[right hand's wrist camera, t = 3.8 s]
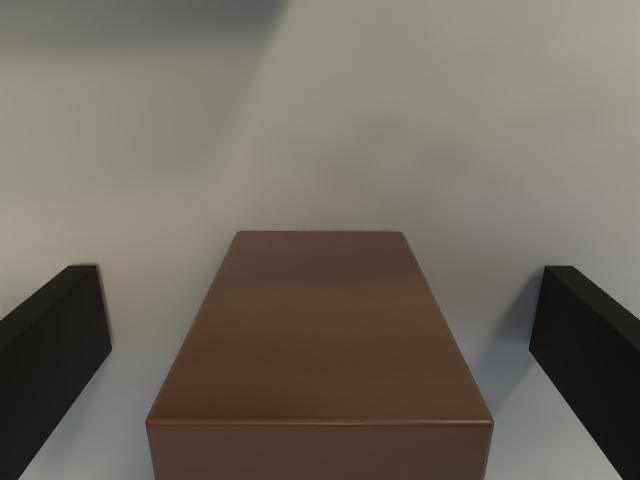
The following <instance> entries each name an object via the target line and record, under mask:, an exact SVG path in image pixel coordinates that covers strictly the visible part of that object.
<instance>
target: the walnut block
mask: <svg viewBox="0 0 640 480" xmlns="http://www.w3.org/2000/svg"><path fill="white" fill-rule="evenodd" d="M145 423H146V430H147V435H148V441H149V447H150V452H151V458H152V464H153V469H154V475H155V480H484V477H485V472H486V466H487V460H488V455H489V449H490V444H491V438H492V433H493V427H494V421H493V418H492V416H491V414H490V412H489V410H488V408H487V406H486V404H485V402H484V399H483V397H482V395H481V393H480V391H479V389H478V387H477V385H476V383H475V381H474V379H473V377H472V375H471V373H470V370H469V368H468V366H467V364H466V362H465V360H464V358H463V356H462V354H461V352H460V350H459V348H458V346H457V344H456V341H455V339H454V337H453V335H452V333H451V331H450V329H449V327H448V325H447V323H446V321H445V319H444V317H443V315H442V312H441V310H440V308H439V306H438V304H437V302H436V300H435V298H434V296H433V294H432V292H431V290H430V288H429V286H428V283H427V281H426V279H425V277H424V275H423V273H422V271H421V269H420V267H419V265H418V263H417V261H416V259H415V257H414V254H413V252H412V250H411V248H410V246H409V244H408V242H407V240H406V238H405V236H404V234H403V233H402V232H238V233H237V234H236V236H235V239H234V241H233V243H232V245H231V247H230V249H229V251H228V253H227V255H226V257H225V259H224V261H223V263H222V265H221V267H220V269H219V271H218V273H217V275H216V277H215V279H214V281H213V283H212V285H211V288H210V290H209V292H208V294H207V296H206V298H205V300H204V302H203V304H202V306H201V308H200V310H199V312H198V314H197V316H196V318H195V320H194V322H193V324H192V326H191V328H190V330H189V332H188V335H187V337H186V339H185V341H184V343H183V345H182V347H181V349H180V351H179V353H178V355H177V357H176V359H175V361H174V363H173V365H172V367H171V369H170V371H169V373H168V375H167V377H166V379H165V382H164V384H163V386H162V388H161V390H160V392H159V394H158V396H157V398H156V400H155V402H154V404H153V406H152V408H151V410H150V412H149V414H148V416H147V419H146V421H145Z"/></svg>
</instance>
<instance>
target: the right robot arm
mask: <svg viewBox="0 0 640 480" xmlns="http://www.w3.org/2000/svg"><path fill="white" fill-rule="evenodd" d="M111 350H112V346H111V341H110V336H109V331H108V326H107V321H106V316H105V311H104V306H103V300H102V295H101V290H100V285H99V280H98V275H97V270H96V266H67V267H66V268H65V269H64V270H63V271H61V272H60V273H59V274H58V275H56V276H55V277H54V278H53V279H51V280H50V281H49V282H48V283H46V284H45V285H44V286H43V287H41V288H40V289H39V290H38V291H36V292H35V293H34V294H33V295H32V296H30V297H29V298H28V299H27V300H25V301H24V302H23V303H22V304H20V305H19V306H18V307H17V308H15V309H14V310H13V311H12V312H10V313H9V314H8V315H7V316H6V317H4V318H3V319H2V320H1V321H0V480H18V479H19V477H20V476H21V475H22V473H23V472H24V470H25V469H26V468H27V466H28V465H29V464H30V462H31V461H32V459H33V458H34V457H35V455H36V454H37V453H38V451H39V450H40V448H41V447H42V446H43V444H44V443H45V441H46V440H47V439H48V437H49V436H50V435H51V433H52V432H53V430H54V429H55V428H56V426H57V425H58V424H59V422H60V421H61V419H62V418H63V417H64V415H65V414H66V413H67V411H68V410H69V408H70V407H71V406H72V404H73V403H74V401H75V400H76V399H77V397H78V396H79V395H80V393H81V392H82V390H83V389H84V388H85V386H86V385H87V384H88V382H89V381H90V379H91V378H92V377H93V375H94V374H95V372H96V371H97V370H98V368H99V367H100V366H101V364H102V363H103V361H104V360H105V359H106V357H107V356H108V355H109V353H110V352H111ZM529 351H530V352H531V354H532V355H533V356H534V358H535V359H536V361H537V362H538V363H539V365H540V366H541V367H542V369H543V370H544V372H545V373H546V374H547V376H548V377H549V378H550V380H551V381H552V383H553V384H554V385H555V387H556V388H557V390H558V391H559V392H560V394H561V395H562V396H563V398H564V399H565V401H566V402H567V403H568V405H569V406H570V407H571V409H572V410H573V412H574V413H575V414H576V416H577V417H578V418H579V420H580V421H581V423H582V424H583V425H584V427H585V428H586V430H587V431H588V432H589V434H590V435H591V436H592V438H593V439H594V441H595V442H596V443H597V445H598V446H599V447H600V449H601V450H602V452H603V453H604V454H605V456H606V457H607V459H608V460H609V461H610V463H611V464H612V465H613V467H614V468H615V470H616V471H617V472H618V474H619V475H620V476H621V478H622V479H623V480H640V320H639V319H638V318H636V317H635V316H634V315H633V314H632V313H630V312H629V311H628V310H627V309H625V308H624V307H623V306H622V305H620V304H619V303H618V302H617V301H615V300H614V299H613V298H612V297H610V296H609V295H608V294H607V293H605V292H604V291H603V290H602V289H601V288H599V287H598V286H597V285H596V284H594V283H593V282H592V281H591V280H589V279H588V278H587V277H586V276H584V275H583V274H582V273H581V272H579V271H578V270H577V269H576V268H574V267H573V266H545V269H544V274H543V279H542V284H541V289H540V294H539V299H538V304H537V309H536V314H535V319H534V325H533V330H532V335H531V340H530V345H529Z"/></svg>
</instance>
